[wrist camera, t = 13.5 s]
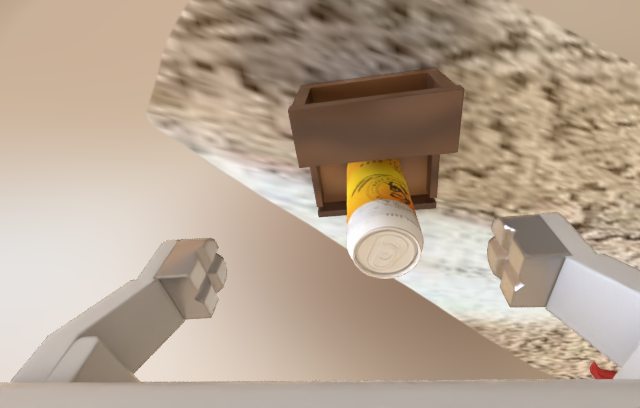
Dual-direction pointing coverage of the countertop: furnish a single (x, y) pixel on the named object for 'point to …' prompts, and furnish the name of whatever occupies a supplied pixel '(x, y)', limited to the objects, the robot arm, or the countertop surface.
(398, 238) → the beer can
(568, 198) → the countertop surface
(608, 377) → the cayenne pepper
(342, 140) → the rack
